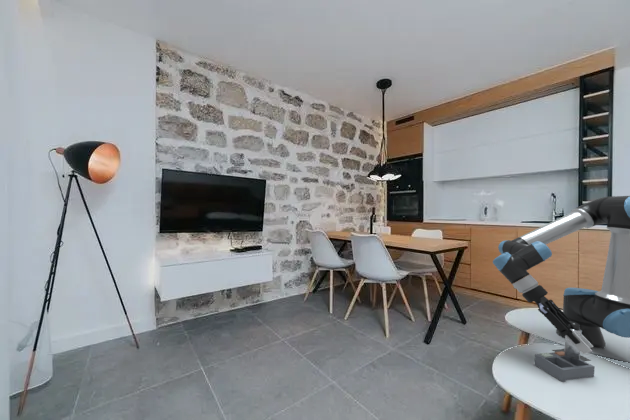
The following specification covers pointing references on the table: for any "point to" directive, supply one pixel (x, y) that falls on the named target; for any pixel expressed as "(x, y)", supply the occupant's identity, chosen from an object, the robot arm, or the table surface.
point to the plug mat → (580, 355)
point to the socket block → (563, 366)
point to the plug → (569, 347)
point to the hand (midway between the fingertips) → (588, 350)
